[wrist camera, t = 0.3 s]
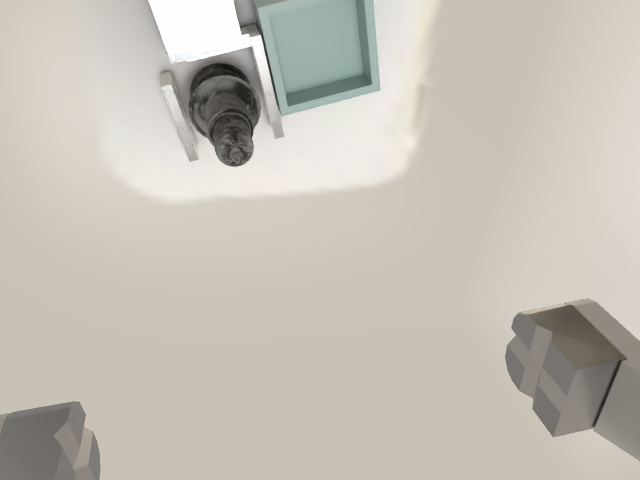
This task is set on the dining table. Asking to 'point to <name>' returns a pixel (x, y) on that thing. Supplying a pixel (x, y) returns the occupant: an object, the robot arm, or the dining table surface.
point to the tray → (318, 50)
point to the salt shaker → (225, 111)
